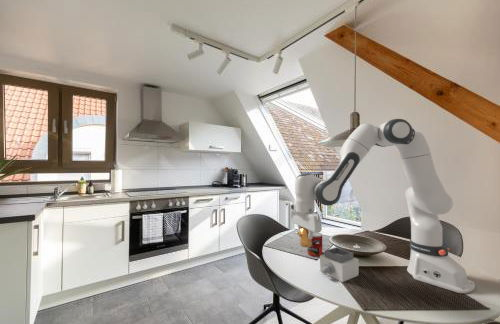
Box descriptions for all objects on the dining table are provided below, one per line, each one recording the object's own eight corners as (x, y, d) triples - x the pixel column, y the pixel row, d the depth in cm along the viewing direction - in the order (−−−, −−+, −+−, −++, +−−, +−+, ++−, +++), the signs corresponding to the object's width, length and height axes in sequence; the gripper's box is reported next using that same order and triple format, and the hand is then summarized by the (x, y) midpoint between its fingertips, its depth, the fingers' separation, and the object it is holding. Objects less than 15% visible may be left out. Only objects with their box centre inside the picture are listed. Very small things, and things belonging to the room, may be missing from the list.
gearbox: (358, 275, 102) (358, 253, 102) (335, 284, 94) (335, 261, 94) (335, 264, 112) (335, 245, 112) (313, 272, 104) (313, 251, 104)
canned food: (304, 254, 125) (304, 233, 125) (312, 249, 131) (311, 230, 131) (318, 258, 120) (317, 237, 120) (324, 253, 126) (324, 233, 126)
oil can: (307, 242, 113) (306, 226, 113) (313, 246, 108) (313, 229, 108) (293, 244, 110) (293, 228, 110) (299, 248, 105) (299, 231, 105)
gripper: (324, 211, 101) (325, 242, 101) (298, 203, 120) (299, 230, 120) (312, 212, 99) (313, 244, 99) (288, 204, 118) (289, 231, 118)
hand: (305, 236), depth 109 cm, fingers closed on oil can, 5 cm apart
